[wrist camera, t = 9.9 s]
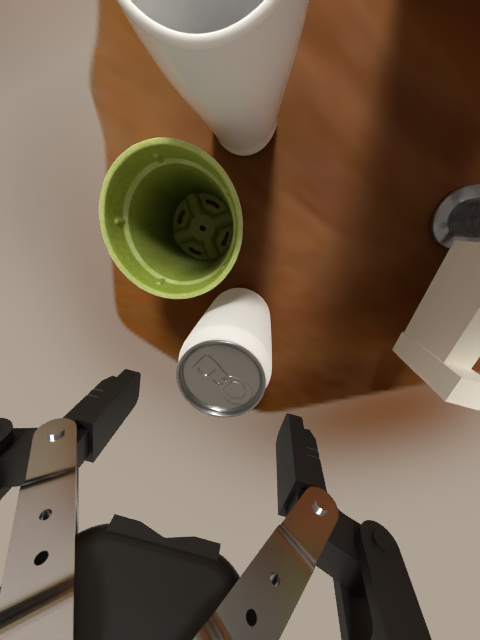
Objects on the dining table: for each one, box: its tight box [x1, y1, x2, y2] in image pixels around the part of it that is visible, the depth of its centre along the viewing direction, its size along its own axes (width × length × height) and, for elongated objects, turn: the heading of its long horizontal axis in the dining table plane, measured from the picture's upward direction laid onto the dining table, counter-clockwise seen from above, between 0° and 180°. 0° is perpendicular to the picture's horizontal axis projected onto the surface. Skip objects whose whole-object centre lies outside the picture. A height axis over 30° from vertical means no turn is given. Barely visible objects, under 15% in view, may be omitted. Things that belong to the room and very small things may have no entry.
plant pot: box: [99, 137, 243, 299], centre depth 19 cm, size 9×9×9 cm
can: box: [176, 288, 272, 417], centre depth 20 cm, size 6×6×12 cm
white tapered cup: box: [116, 0, 310, 156], centre depth 13 cm, size 7×7×15 cm
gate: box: [392, 240, 480, 410], centre depth 18 cm, size 10×2×8 cm, turn 166°
